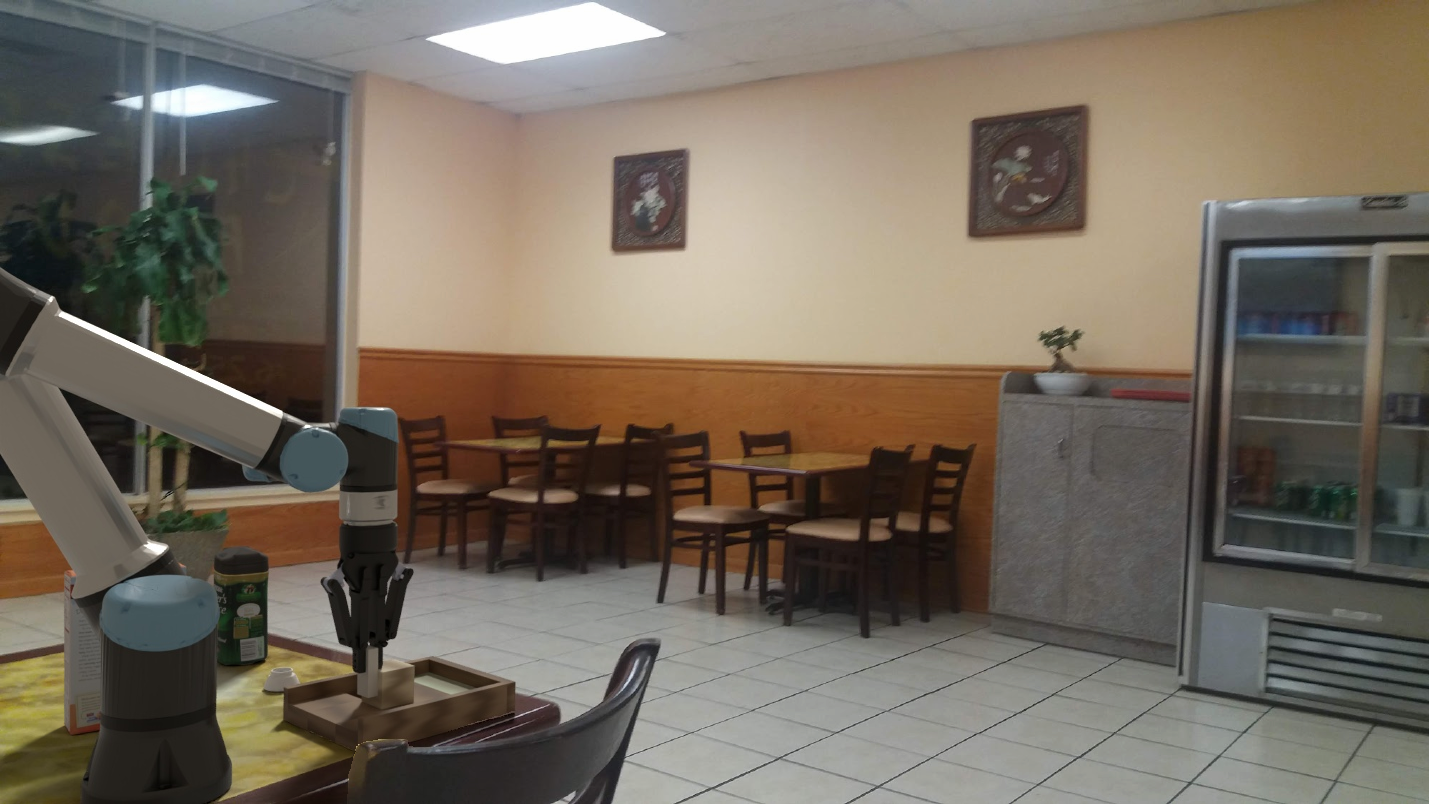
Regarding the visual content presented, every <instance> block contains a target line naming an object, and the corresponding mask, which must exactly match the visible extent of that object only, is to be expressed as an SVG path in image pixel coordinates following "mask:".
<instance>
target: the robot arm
mask: <svg viewBox="0 0 1429 804" xmlns="http://www.w3.org/2000/svg"><path fill="white" fill-rule="evenodd" d="M60 389H61V390H64V391H66V392H68V393H71V394H73V395H74V396H75V395H76V396H78V397H80V398H83V399H84V400H85V399H86V400H88V401H90V402H92V403H95V404H98V405H99V406H102V407H103V408H107V409H109V410H111V411H114V412H117V413H119V414H121V415H123V416H125V417H128V418H130V419H133V420H135V421H137V422H140V423H142V424H145V425H147V426H150V427H152V428H154V429H156V430H159V431H161V432H164V433H166V434H169V435H172V436H174V437H176V438H178V439H181V440H182V441H186V442H188V443H190V444H193V445H195V446H198V447H200V448H202V449H204V450H206V451H210V452H212V453H214V454H216V455H219V456H220V457H221V456H222V457H223V458H226V459H228V460H230V461H233V462H235V463H238V464H240V465H241V466H242V473H243V476H244V477H245V479H247V481H249V482H266V483H272V482H282V483H285V484H287V485H289V486H290V488H293V489H294V490H297V491H300V492H303V493H309V494H311V493H320V492H324V491H327V490H330V489H331V488H333V487H335V486H336V485H338V483H339V500H338V501H339V503H338V505H339V507H338V508H339V509H338V510H339V511H338V517H339V519H340V520H341V521H343V523H341V524H340V525H339V527H338V529H339V532H338V547H339V548H338V549H339V553H340V557H339V560H338V562H337V564H336V569H337V570H335V571H334V572H332V574H331V575H329V576H328V577H327V576H322V578H321V579H320V581H319V582H320V585H321V587H322V588H323V589H324V591H325V593H326V594H327V598H328V602H329V607H330V611H331V615H332V620H333V624H334V627H335V633H336V637H337V642H338V644H339V645H341V646H345V647H348V648H351V651H352V654H351V655H352V657H351V658H352V667H351V668H352V670H353V673H354V672H356V673H357V694H358V695H361V696H364V697H366V698H371V697H375V696H378V669H382V666H383V661H384V658H383V657H384V648H386V647H387V646H388V645H389V642H388V641H390V640H395V639H396V638H397V635H398V631H399V625H400V621H401V616H402V612H403V607H404V603H405V602H404V601H405V598H406V593H407V589H408V585H409V583H410V581H411V579H412V577H413V575H414V569H413V568H411V567H407V566H405V565H403V564H402V563H400V562H399V557H398V555H397V552H396V549H397V548H398V535H399V534H398V533H399V532H398V526H399V525H398V524H397V523H396V521H393V520H395V519H397V517H398V491H399V490H398V473H399V472H398V470H399V469H398V468H399V467H398V466H399V465H398V464H399V444H400V440H399V425H398V414H397V412H396V411H394V410H393V409H392V408H390V407H382V406H381V407H379V406H376V407H375V406H374V407H373V406H370V407H369V406H359V407H357V406H356V407H351V406H350V407H348V406H347V407H343V408H341V410H340V411H339V417H338V421H332V422H331V421H328V422H307V421H305V420H303V419H300V418H298V417H296V416H293V415H291V414H288V413H287V412H286V413H285V412H283V410H280V409H278V408H276V407H274V406H272V405H270V404H267V403H265V402H263V401H261V400H259V399H256V398H254V397H252V396H250V395H248V394H245V393H244V392H241V391H239V390H236V389H235V388H232V387H231V386H228V385H226V384H224V383H221V382H219V381H217V380H215V379H212V378H210V377H208V376H206V375H203V374H201V373H199V372H197V371H195V370H194V369H193V370H192V369H190V368H188V367H186V366H184V365H182V364H179V363H177V362H175V361H173V360H171V359H169V358H167V357H164V356H162V355H160V354H158V353H155V352H153V351H151V350H148V349H146V348H144V347H142V346H139V345H138V344H135V343H133V342H130V341H129V340H126V339H125V338H122V337H120V336H118V335H116V334H113V333H111V332H109V331H107V330H105V329H103V328H100V327H98V326H96V325H94V324H92V323H89V322H88V321H85V320H83V319H80V318H79V317H76V316H74V315H72V314H70V313H67V312H65V311H63V310H62V309H61V308H60V306H59V303H58V302H57V299H56V297H55V296H53V295H51V294H49V293H47V292H44V291H42V290H40V289H38V288H36V287H34V286H32V285H30V284H29V283H26V282H24V281H23V280H21V279H19V278H17V277H16V276H14V275H13V274H11V273H9V272H8V271H6V270H5V269H3V268H2V267H0V455H1V457H2V459H3V460H4V462H5V464H6V465H7V467H8V469H9V470H10V472H11V473H12V474H13V475H12V476H14V478H15V480H16V482H17V483H18V485H19V486H20V488H21V489H22V491H23V492H24V494H25V496H26V497H27V499H28V501H29V502H30V505H31V506H32V507H33V509H34V510H35V512H36V514H37V515H38V516H39V518H40V520H41V522H42V523H43V525H44V527H45V528H46V529H47V531H48V532H49V534H50V536H51V537H52V539H53V541H54V542H55V544H56V545H57V548H58V549H59V550H60V552H61V553H62V555H63V557H64V558H65V560H66V561H67V564H68V565H69V566H70V568H71V570H73V571H74V573H75V574H76V582H75V584H74V587H73V590H72V593H71V596H72V597H73V599H74V601H75V602H76V604H77V605H78V607H79V609H80V610H81V612H82V614H83V615H84V617H85V618H86V620H87V622H88V623H89V625H90V626H91V628H92V630H93V631H94V633H95V634H96V636H97V638H98V640H99V641H100V650H101V697H100V711H101V713H100V730H98V731H99V733H98V735H97V738H96V740H95V742H94V743H95V744H94V746H93V749H92V751H91V754H90V757H89V760H88V763H87V767H86V771H85V773H84V775H83V776H82V779H81V782H80V804H206V803H208V802H211V801H214V800H215V799H217V798H219V797H220V796H222V795H224V794H225V793H227V791H228V790H229V789H230V788H231V787H232V783H233V763H232V760H231V757H230V755H229V754H228V751H227V747H226V744H225V741H224V740H225V739H224V737H223V734H222V730H221V728H220V725H219V723H218V717H217V698H218V697H217V696H218V695H217V694H218V693H217V692H218V691H217V690H218V688H217V687H218V686H217V685H218V683H217V682H218V661H217V627H218V620H219V617H220V608H219V605H218V599H217V593H216V590H215V589H214V585H212V584H211V583H209V582H208V581H206V580H204V579H203V578H202V579H201V578H193V577H192V576H189V575H187V573H186V574H185V573H184V571H183V569H182V568H181V566H180V564H181V563H180V562H179V561H178V559H177V557H176V556H175V555H174V553H173V552H172V551H173V550H171V548H170V546H169V545H168V543H164V542H159V541H155V540H152V539H150V538H149V537H148V535H147V534H146V532H145V530H144V529H143V527H142V526H141V524H140V523H139V521H138V519H137V517H136V516H135V514H134V512H133V510H132V509H131V507H130V505H129V504H128V502H127V500H126V499H125V497H124V495H123V494H122V492H121V491H120V488H119V487H118V485H117V484H116V482H115V481H114V479H113V476H111V474H110V472H109V471H108V468H107V467H106V465H105V464H104V462H103V461H102V458H101V457H100V455H99V454H98V452H97V451H96V449H95V447H94V445H93V444H92V442H91V440H90V439H89V436H87V433H86V431H85V430H84V428H83V427H82V425H81V424H80V422H79V420H78V419H77V417H76V416H75V413H74V411H73V410H72V408H71V407H70V405H69V403H68V402H67V400H66V398H65V397H64V395H63V393H62V391H61V390H60ZM179 563H180V564H179ZM344 581H345V583H346V584H347V586H348V595H349V597H350V608H349V602H348V599H347V596H346V592H345V590H344V587H345V583H344ZM389 581H390V582H389ZM388 583H389V585H388Z"/></svg>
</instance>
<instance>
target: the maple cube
mask: <svg viewBox="0 0 1429 804" xmlns="http://www.w3.org/2000/svg"><path fill="white" fill-rule="evenodd" d="M405 662H406V661H401V660H398V659H396V658H394V659H393V658H391V659H388V660H383V666H382V669H378V696H375V697H371V698H366V697H364V696H362V702H364V703H366V704H369V705H372V706H374V707H377V708H379V709H386V708H390V707H394V706H398V705H403V704H407V703H411V702H414V673H415V666H414V665H411V664H408V663H405Z"/></svg>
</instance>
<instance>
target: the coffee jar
mask: <svg viewBox="0 0 1429 804" xmlns="http://www.w3.org/2000/svg"><path fill="white" fill-rule="evenodd" d="M213 558H214V560H213V587H214V589H215V590H216V593H217V599H218V605H219V608H220V617H219V620H218V627H217V662H219V663H220V664H222V665H225V666H228V665H234V666H235V665H236V666H248V665H253V664H255V663H257V662H260V661H265V660H266V659H267V657H268V655H269V653H268V652H269V645H268V644H269V636H268V635H269V634H268V633H269V631H268V629H269V628H268V627H269V626H268V624H269V621H268V619H269V618H268V611H269V610H268V606H269V605H268V604H269V603H268V601H269V599H268V598H269V592H268V590H269V589H268V587H269V575H270V572H269V571H270V565H269V564H270V563H269V556H268V555H267V554H265V553H264V552H262V551H259V550H256V549H255V548H252V547H250V546H249V545H242V546H241V545H239V546H238V545H237V546H227V547H223V548H222V549H221V550H219V551H218V552H216V554H215V555H214V557H213Z"/></svg>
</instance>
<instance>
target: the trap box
mask: <svg viewBox="0 0 1429 804" xmlns="http://www.w3.org/2000/svg"><path fill="white" fill-rule="evenodd" d="M404 662H405V663H408V664H411V665H414V666H415V673H414V702H411V703H407V704H403V705H398V706H394V707H390V708H386V709H379V708H377V707H374V706H372V705H369V704H366V703H364V702H362V696H361V695H358V694H357V673H356V672H354V671H353V672H350V673H344V674H339V675H335V676H330V677H326V678H321V679H316V680H312V681H311V680H310V681H306V682H300V684H296V685H291V686H286V687H284V692H283V707H282V709H283V710H282V712H283V714H282V719H283V721H285V722H287V723H290V724H292V725H294V726H297V727H298V728H301V729H303V730H306V731H308V732H310V733H312V734H314V735H316V736H319V737H321V738H323V739H325V740H327V741H330V742H332V743H335V744H337V745H340V746H341V747H344V748H346V749H348V750H350V751H353V752H355V749H356V746H358V744H361V743H363V742H366V741H373V740H378V739H407V740H408V741H409V743H412V742H416V741H419V740H420V741H421V740H423V739H427V738H430V737H433V736H437V735H440V734H445V733H448V731H449V732H452V731H455V730H454V729H456V730H459V729H458V728H459V727H462V726H466V725H468V724H471V723H475V722H477V721H482V720H485V719H489V718H492V717H494V716H501V715H503V714H506V713H509V712H511V711H515V712H516V688H517V687H516V685H517V683H516V681H514V680H511V679H508V678H504V677H501V676H497V675H495V674H491V673H489V672H486V671H482V670H479V669H475V668H472V667H470V666H466V665H463V664H459V663H456V662H453V661H450V660H447V659H443V658H441V657H437V656H434V655H430V656H427V657H421V658H416V659H412V660H408V661H407V660H406V661H404ZM451 730H452V731H451Z"/></svg>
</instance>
